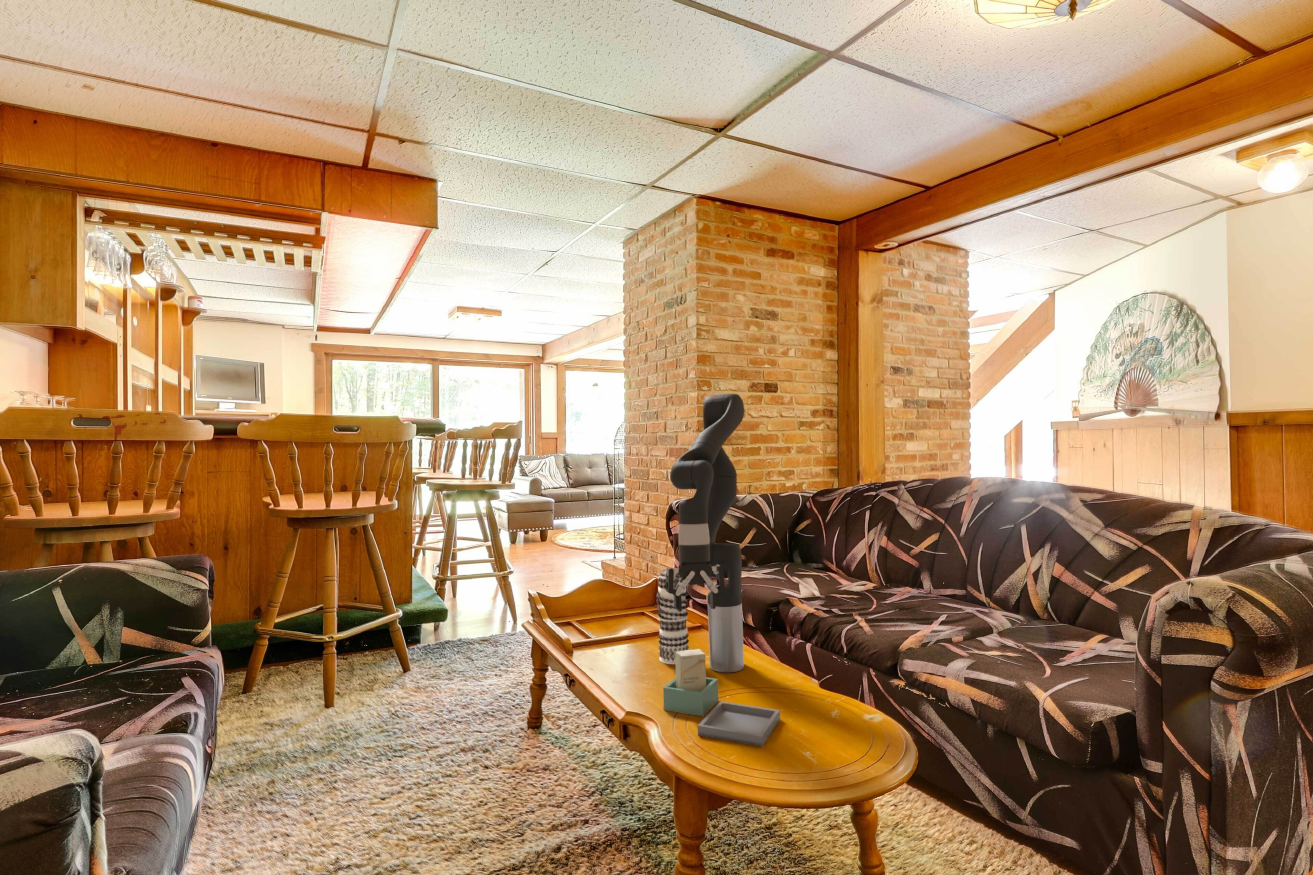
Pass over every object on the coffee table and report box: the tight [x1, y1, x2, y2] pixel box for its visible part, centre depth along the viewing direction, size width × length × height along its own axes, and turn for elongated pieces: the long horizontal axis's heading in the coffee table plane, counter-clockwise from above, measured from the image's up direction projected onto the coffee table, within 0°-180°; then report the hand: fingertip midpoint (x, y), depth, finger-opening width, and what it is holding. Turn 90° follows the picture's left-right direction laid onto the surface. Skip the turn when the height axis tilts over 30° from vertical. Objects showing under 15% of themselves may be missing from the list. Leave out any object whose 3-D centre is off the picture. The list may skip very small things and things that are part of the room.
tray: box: [697, 700, 781, 748], centre depth 133 cm, size 14×14×2 cm
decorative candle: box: [656, 568, 690, 665], centre depth 178 cm, size 9×9×25 cm
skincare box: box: [675, 648, 707, 692], centre depth 145 cm, size 6×4×12 cm
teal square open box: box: [662, 676, 719, 717], centre depth 145 cm, size 10×10×5 cm
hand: (696, 609), depth 152 cm, fingers open, 8 cm apart
